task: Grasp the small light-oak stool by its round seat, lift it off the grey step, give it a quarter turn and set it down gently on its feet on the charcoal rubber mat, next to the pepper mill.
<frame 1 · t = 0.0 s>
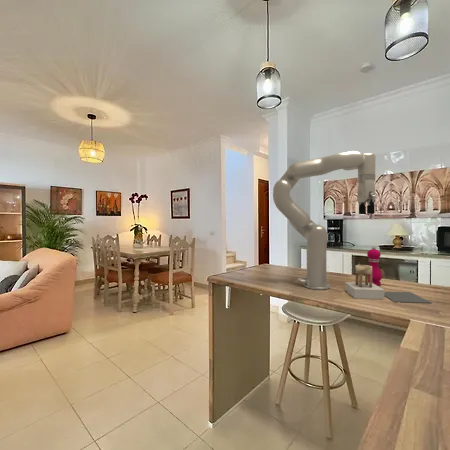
hand: (366, 213, 126), 37 cm above the breakfast bar, tool pointing down, fingers open, 9 cm apart
pepper mill: (373, 285, 132), on the breakfast bar
step: (363, 294, 116), on the breakfast bar
stool: (363, 285, 115), point 4 cm above the breakfast bar, touching step
mat: (403, 297, 111), on the breakfast bar
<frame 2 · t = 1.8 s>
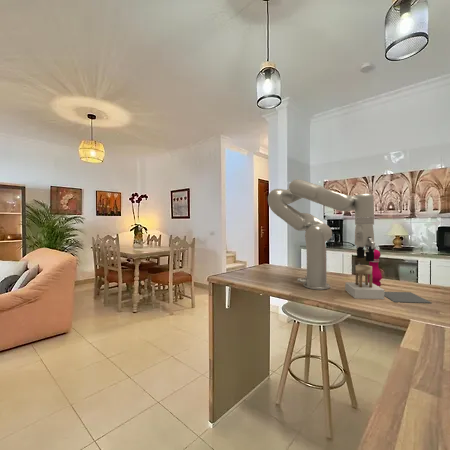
hand: (365, 259, 115), 16 cm above the breakfast bar, tool pointing down, fingers open, 9 cm apart
nothing on the breakfast bar moved.
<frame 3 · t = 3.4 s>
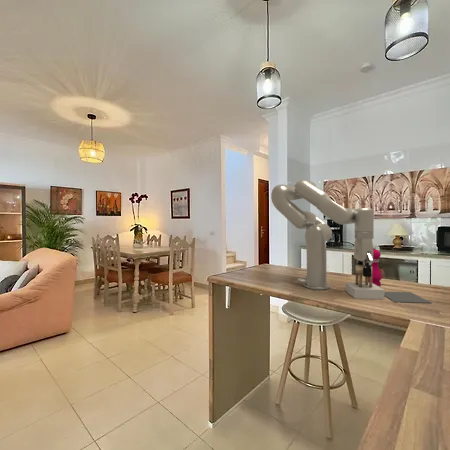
hand: (363, 274, 115), 9 cm above the breakfast bar, tool pointing down, fingers closed on stool, 6 cm apart
stool: (363, 285, 115), point 4 cm above the breakfast bar, touching gripper, step
everything else where it was.
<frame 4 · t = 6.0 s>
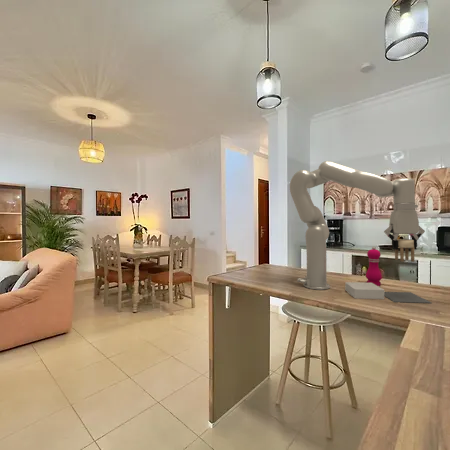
hand: (404, 248, 110), 21 cm above the breakfast bar, tool pointing down, fingers closed on stool, 6 cm apart
stool: (404, 260, 110), point 16 cm above the breakfast bar, touching gripper
everything else where it was.
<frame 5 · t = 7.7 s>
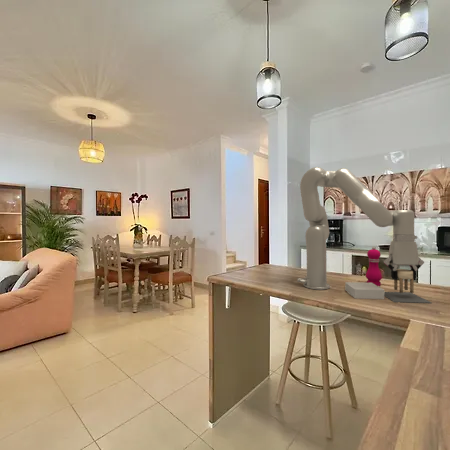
hand: (403, 279, 110), 8 cm above the breakfast bar, tool pointing down, fingers closed on stool, 6 cm apart
stool: (403, 291, 111), point 3 cm above the breakfast bar, touching gripper
everything else where it was.
when the fingers open (7 cm above the breakfast bar, at t = 8.8 s): stool drops 1 cm, resting on mat.
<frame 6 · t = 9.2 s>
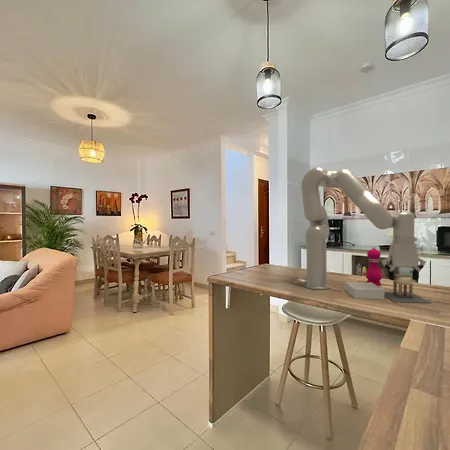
hand: (403, 279, 111), 8 cm above the breakfast bar, tool pointing down, fingers open, 9 cm apart
stool: (402, 296, 111), resting on mat
everything else where it was.
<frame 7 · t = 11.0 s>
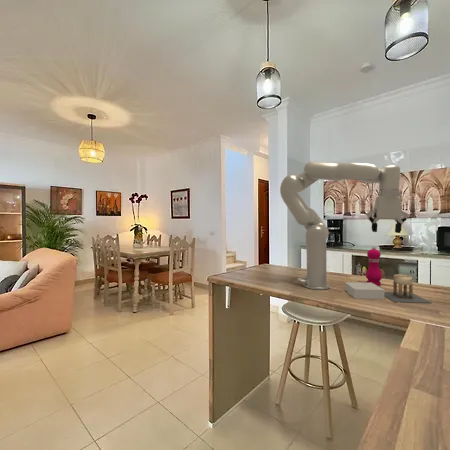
hand: (386, 232, 114), 28 cm above the breakfast bar, tool pointing down, fingers open, 9 cm apart
nothing on the breakfast bar moved.
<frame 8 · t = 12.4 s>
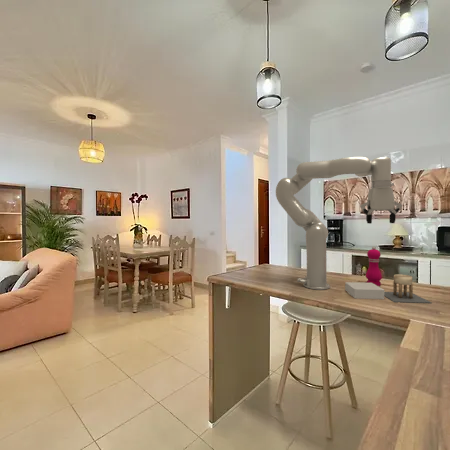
hand: (380, 223, 116), 32 cm above the breakfast bar, tool pointing down, fingers open, 9 cm apart
nothing on the breakfast bar moved.
at the end: stool inside the target area on the mat (0.1 cm from its centre), point 0.4 cm above the mat's base; stool tilted 0°; the gripper is holding nothing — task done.
